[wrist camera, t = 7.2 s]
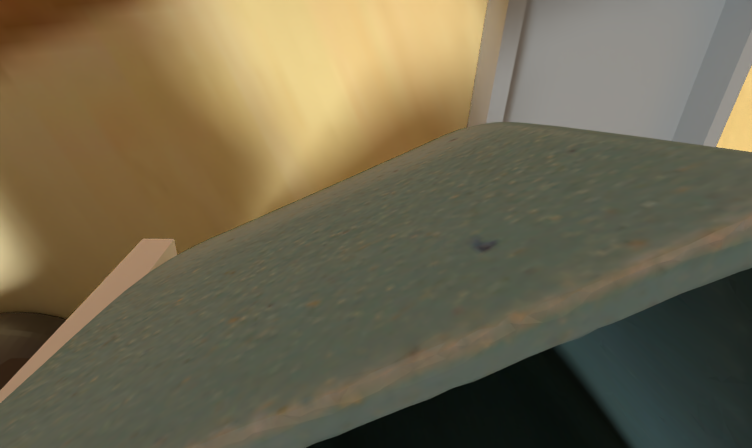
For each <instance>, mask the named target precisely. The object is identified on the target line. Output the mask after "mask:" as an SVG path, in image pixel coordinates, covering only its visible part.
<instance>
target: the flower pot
mask: <svg viewBox="0 0 752 448" xmlns="http://www.w3.org/2000/svg"><path fill="white" fill-rule="evenodd" d="M0 448H752V152H746V151H739V150H732V149H725V148H718V147H711V146H704V145H697V144H690V143H683V142H676V141H668V140H661V139H654V138H647V137H639V136H632V135H624V134H616V133H608V132H601V131H593V130H585V129H577V128H569V127H561V126H552V125H542V124H532V123H520V122H493V123H485V124H480V125H475V126H471V127H467V128H464V129H460V130H457V131H454V132H452V133H449V134H446V135H444V136H442V137H439V138H437V139H435V140H433V141H431V142H428V143H426V144H424V145H422V146H420V147H417V148H415V149H413V150H411V151H409V152H406V153H404V154H402V155H400V156H397V157H395V158H393V159H391V160H388V161H386V162H384V163H381V164H379V165H377V166H375V167H372V168H370V169H368V170H366V171H363V172H361V173H359V174H357V175H355V176H352V177H350V178H348V179H346V180H343V181H341V182H339V183H337V184H334V185H332V186H330V187H328V188H325V189H323V190H321V191H319V192H316V193H314V194H312V195H309V196H307V197H305V198H303V199H300V200H298V201H296V202H293V203H291V204H289V205H286V206H284V207H282V208H280V209H277V210H275V211H273V212H271V213H268V214H266V215H264V216H262V217H259V218H257V219H255V220H253V221H250V222H248V223H246V224H243V225H241V226H239V227H237V228H234V229H232V230H230V231H227V232H225V233H222V234H220V235H218V236H215V237H213V238H210V239H208V240H206V241H204V242H202V243H200V244H198V245H196V246H194V247H192V248H190V249H188V250H186V251H184V252H182V253H180V254H179V255H177V256H175V257H173V258H171V259H170V260H168V261H166V262H165V263H163V264H161V265H160V266H158V267H157V268H155V269H154V270H152V271H151V272H149V273H148V274H147V275H145V276H144V277H143V278H141V279H140V280H139V281H137V282H136V283H135V284H133V285H132V286H131V287H129V288H128V289H127V290H125V291H124V292H123V293H122V294H121V295H119V296H118V297H117V298H116V299H115V300H114V301H112V302H111V303H110V304H109V305H108V306H107V307H106V308H104V309H103V310H102V311H101V312H100V313H99V314H98V315H97V316H95V317H94V318H93V319H92V320H91V321H90V322H89V323H88V324H86V325H85V326H84V327H83V328H82V329H81V330H80V331H79V332H78V333H76V334H75V335H74V336H73V337H72V338H71V339H70V340H69V341H68V342H66V343H65V344H64V345H63V346H62V347H61V348H60V349H59V350H58V351H57V352H56V353H55V354H54V355H53V356H51V357H50V358H49V359H48V360H47V361H46V362H45V363H44V364H43V365H42V366H40V367H39V368H38V369H37V370H36V371H35V372H34V373H33V374H32V375H31V376H29V377H28V378H27V379H26V380H25V381H24V382H23V383H22V384H21V385H20V386H18V387H17V388H16V389H15V390H14V391H13V392H12V393H11V394H10V395H9V396H8V397H6V398H5V399H4V400H3V401H2V402H1V403H0Z"/></svg>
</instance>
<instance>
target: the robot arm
mask: <svg viewBox="0 0 752 448" xmlns="http://www.w3.org/2000/svg"><path fill="white" fill-rule="evenodd" d="M175 256H177V251H176V245H175V239H142V240H141V241H140V242H139V243H138V244H137V245H136V246H135V247H134V249H133V250H132V251H131V252H130V253H129V254H128V255H127V256H126V257H125V258H124V259H123V260H122V261H121V262H120V263H119V264H118V266H117V267H116V268H115V269H114V270H113V271H112V272H111V273H110V274H109V275H108V276H107V277H106V278H105V279H104V280H103V282H102V283H101V284H100V285H99V286H98V287H97V288H96V289H95V290H94V291H93V292H92V293H91V294H90V295H89V296H88V298H87V299H86V300H85V301H84V302H83V303H82V304H81V305H80V306H79V307H78V308H77V309H76V310H75V311H74V312H73V313H72V315H71V316H70V317H69V318H68V319H67V320H66V319H62V318H58V317H53V316H49V315H43V314H35V313H0V403H1V402H2V401H3V400H4V399H5V398H6V397H8V396H9V395H10V394H11V393H12V392H13V391H14V390H15V389H16V388H17V387H18V386H20V385H21V384H22V383H23V382H24V381H25V380H26V379H27V378H28V377H29V376H31V375H32V374H33V373H34V372H35V371H36V370H37V369H38V368H39V367H40V366H42V365H43V364H44V363H45V362H46V361H47V360H48V359H49V358H50V357H51V356H53V355H54V354H55V353H56V352H57V351H58V350H59V349H60V348H61V347H62V346H63V345H64V344H65V343H66V342H68V341H69V340H70V339H71V338H72V337H73V336H74V335H75V334H76V333H78V332H79V331H80V330H81V329H82V328H83V327H84V326H85V325H86V324H88V323H89V322H90V321H91V320H92V319H93V318H94V317H95V316H97V315H98V314H99V313H100V312H101V311H102V310H103V309H104V308H106V307H107V306H108V305H109V304H110V303H111V302H112V301H114V300H115V299H116V298H117V297H118V296H119V295H121V294H122V293H123V292H124V291H125V290H127V289H128V288H129V287H131V286H132V285H133V284H135V283H136V282H137V281H139V280H140V279H141V278H143V277H144V276H145V275H147V274H148V273H149V272H151V271H152V270H154V269H155V268H157V267H158V266H160V265H161V264H163V263H165V262H166V261H168V260H170V259H171V258H173V257H175Z"/></svg>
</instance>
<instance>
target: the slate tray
mask: <svg viewBox="0 0 752 448" xmlns="http://www.w3.org/2000/svg"><path fill="white" fill-rule="evenodd" d="M751 65H752V0H488V4H487V10H486V16H485V22H484V28H483V34H482V40H481V46H480V52H479V58H478V64H477V70H476V76H475V82H474V88H473V94H472V100H471V106H470V112H469V118H468V124H467V127H471V126H475V125H480V124H485V123H493V122H520V123H532V124H542V125H552V126H561V127H569V128H577V129H585V130H593V131H601V132H608V133H616V134H624V135H632V136H639V137H647V138H654V139H661V140H668V141H676V142H683V143H690V144H697V145H704V146H711V147H716V145H717V143H718V141H719V139H720V136H721V134H722V132H723V129H724V127H725V125H726V122H727V120H728V118H729V116H730V113H731V111H732V109H733V106H734V104H735V102H736V100H737V97H738V95H739V93H740V90H741V88H742V86H743V84H744V81H745V79H746V77H747V74H748V72H749V70H750V68H751Z"/></svg>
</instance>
